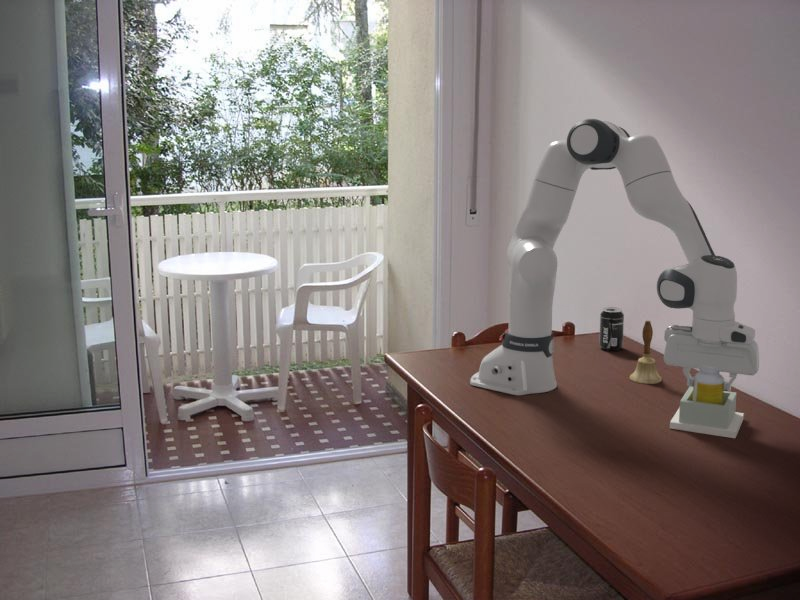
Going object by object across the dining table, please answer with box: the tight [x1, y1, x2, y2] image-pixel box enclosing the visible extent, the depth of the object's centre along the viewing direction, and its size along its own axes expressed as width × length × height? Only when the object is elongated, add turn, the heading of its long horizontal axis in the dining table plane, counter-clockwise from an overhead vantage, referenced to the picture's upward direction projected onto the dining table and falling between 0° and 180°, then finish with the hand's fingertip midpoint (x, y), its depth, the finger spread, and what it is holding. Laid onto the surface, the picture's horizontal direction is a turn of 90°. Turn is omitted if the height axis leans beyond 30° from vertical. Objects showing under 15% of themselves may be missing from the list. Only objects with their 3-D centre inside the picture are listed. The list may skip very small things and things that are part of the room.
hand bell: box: [629, 320, 663, 385], centre depth 231 cm, size 8×8×16 cm
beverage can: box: [598, 306, 625, 352], centre depth 261 cm, size 7×7×12 cm
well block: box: [669, 386, 745, 439], centre depth 200 cm, size 14×13×6 cm
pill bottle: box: [693, 366, 725, 405], centre depth 199 cm, size 6×6×12 cm
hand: (708, 388), depth 199 cm, fingers closed on pill bottle, 6 cm apart
